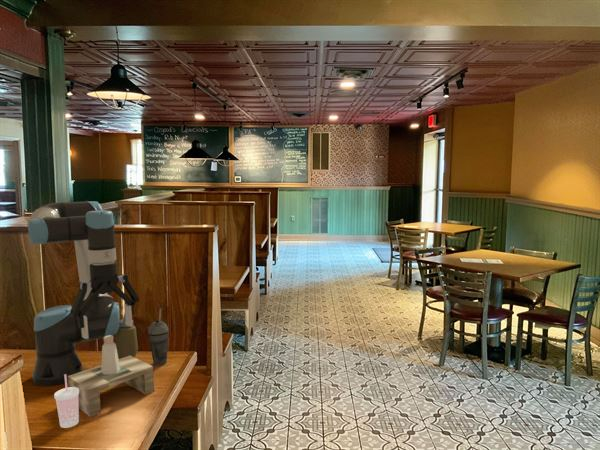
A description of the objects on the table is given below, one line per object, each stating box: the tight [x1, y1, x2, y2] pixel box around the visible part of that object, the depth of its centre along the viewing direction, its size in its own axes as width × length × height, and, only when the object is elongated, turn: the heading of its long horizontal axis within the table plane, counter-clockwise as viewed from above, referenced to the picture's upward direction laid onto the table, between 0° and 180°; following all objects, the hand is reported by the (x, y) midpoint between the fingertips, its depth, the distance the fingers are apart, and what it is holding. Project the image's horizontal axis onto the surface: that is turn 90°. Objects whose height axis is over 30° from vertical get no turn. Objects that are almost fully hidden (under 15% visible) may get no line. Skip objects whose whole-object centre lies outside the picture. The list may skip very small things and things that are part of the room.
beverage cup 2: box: [147, 308, 170, 367], centre depth 164 cm, size 7×7×20 cm
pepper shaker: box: [101, 335, 120, 375], centre depth 139 cm, size 5×5×11 cm
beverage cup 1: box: [53, 374, 80, 429], centre depth 125 cm, size 6×6×14 cm
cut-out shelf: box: [67, 356, 155, 418], centre depth 140 cm, size 14×20×8 cm
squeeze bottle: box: [115, 312, 139, 359], centre depth 168 cm, size 8×8×18 cm
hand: (108, 331), depth 139 cm, fingers open, 13 cm apart
